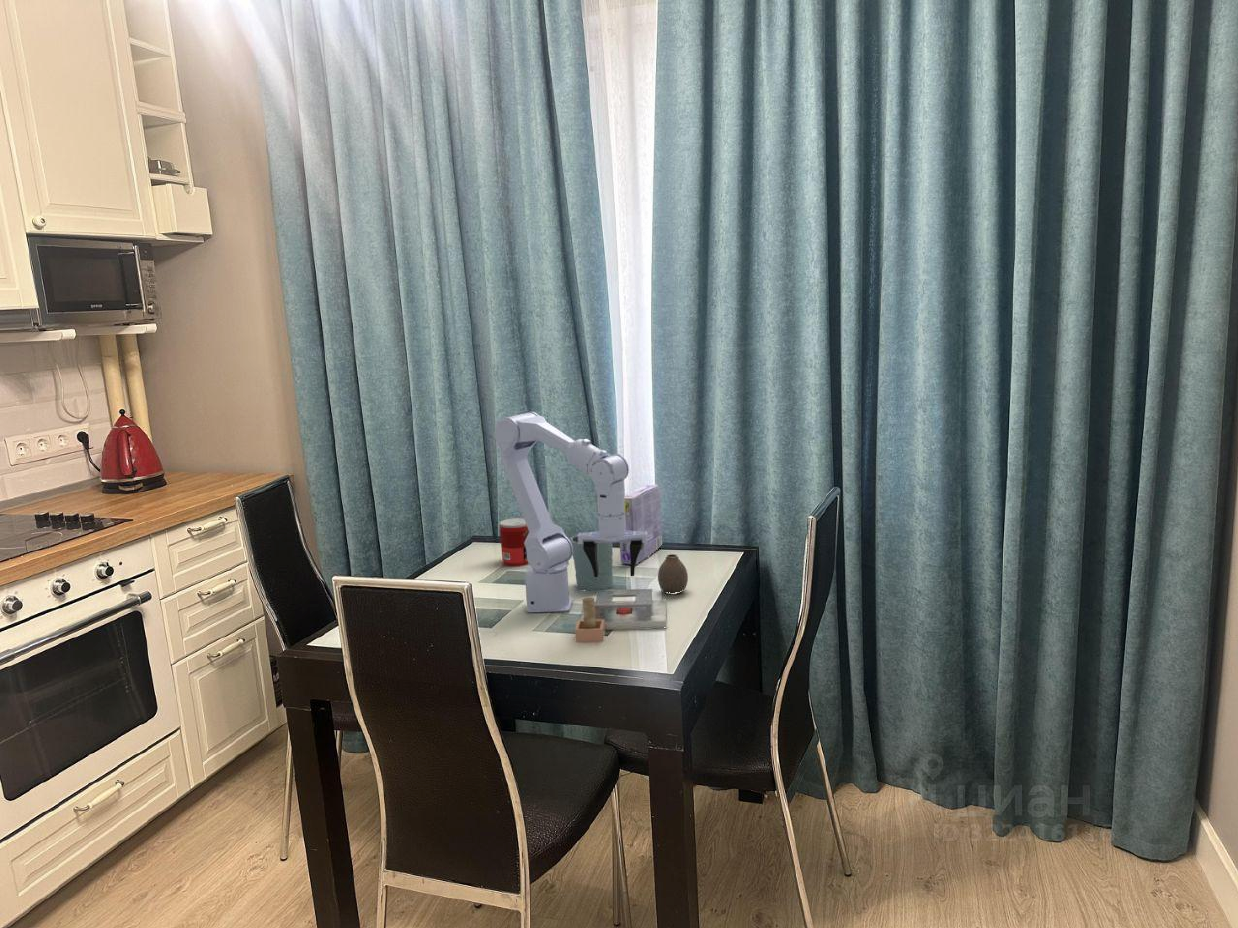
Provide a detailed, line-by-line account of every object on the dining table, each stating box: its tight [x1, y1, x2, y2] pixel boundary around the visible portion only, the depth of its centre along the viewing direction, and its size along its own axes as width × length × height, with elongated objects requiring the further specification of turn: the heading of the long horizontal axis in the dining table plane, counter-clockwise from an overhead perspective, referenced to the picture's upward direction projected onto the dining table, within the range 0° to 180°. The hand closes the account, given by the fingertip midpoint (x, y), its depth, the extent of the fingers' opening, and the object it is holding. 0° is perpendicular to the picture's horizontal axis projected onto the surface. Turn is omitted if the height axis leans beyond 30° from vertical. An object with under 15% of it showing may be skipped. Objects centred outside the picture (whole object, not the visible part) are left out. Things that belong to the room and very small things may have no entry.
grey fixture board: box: [580, 588, 668, 631], centre depth 196 cm, size 18×13×4 cm
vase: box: [657, 553, 689, 593], centre depth 211 cm, size 7×7×9 cm
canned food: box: [499, 517, 529, 567], centre depth 240 cm, size 8×8×11 cm
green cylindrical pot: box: [569, 534, 614, 592], centre depth 218 cm, size 10×10×12 cm
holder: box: [574, 619, 606, 643], centre depth 187 cm, size 6×6×2 cm
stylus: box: [582, 597, 596, 629], centre depth 186 cm, size 2×2×8 cm
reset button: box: [618, 607, 631, 614], centre depth 196 cm, size 3×3×2 cm
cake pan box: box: [619, 484, 664, 566], centre depth 240 cm, size 19×5×18 cm, turn 154°
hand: (614, 575), depth 194 cm, fingers open, 7 cm apart
